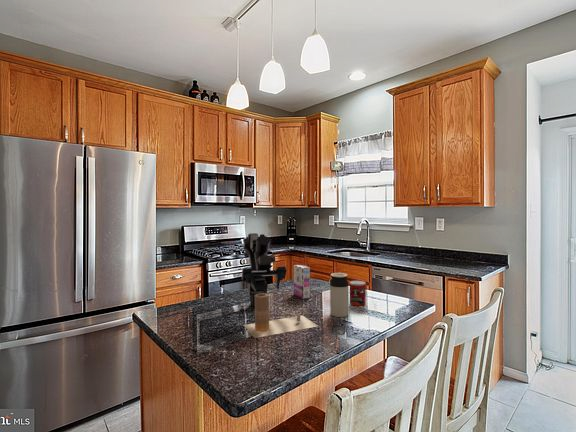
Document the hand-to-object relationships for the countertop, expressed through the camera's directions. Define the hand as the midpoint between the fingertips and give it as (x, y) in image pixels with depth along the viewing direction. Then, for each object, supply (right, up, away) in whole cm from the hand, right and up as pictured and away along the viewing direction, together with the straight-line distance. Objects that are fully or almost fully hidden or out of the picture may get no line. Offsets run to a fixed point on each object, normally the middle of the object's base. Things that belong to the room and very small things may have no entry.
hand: (267, 289), depth 128 cm
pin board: (+6, -14, -5) cm, 16 cm away
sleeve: (-1, -13, -8) cm, 15 cm away
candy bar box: (+16, -14, +43) cm, 47 cm away
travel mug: (+31, -14, +12) cm, 36 cm away
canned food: (+43, -14, +26) cm, 52 cm away
